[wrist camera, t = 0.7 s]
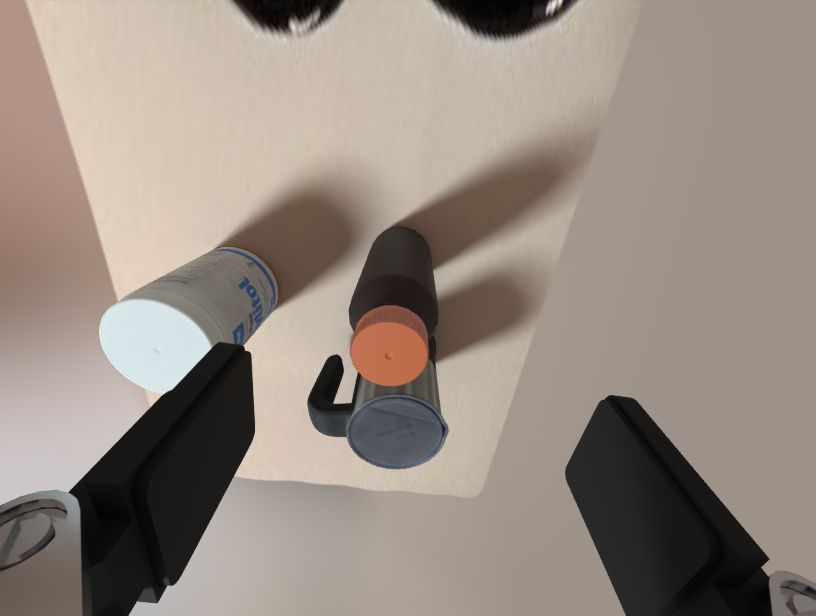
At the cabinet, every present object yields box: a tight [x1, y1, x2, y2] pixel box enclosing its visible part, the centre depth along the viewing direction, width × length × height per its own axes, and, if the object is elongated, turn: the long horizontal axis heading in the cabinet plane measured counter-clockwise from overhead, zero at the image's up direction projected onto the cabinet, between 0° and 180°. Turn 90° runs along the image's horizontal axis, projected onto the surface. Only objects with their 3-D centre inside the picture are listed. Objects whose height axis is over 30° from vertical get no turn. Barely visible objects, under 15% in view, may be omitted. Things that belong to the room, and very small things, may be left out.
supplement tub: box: [99, 247, 278, 394], centre depth 35 cm, size 10×10×15 cm
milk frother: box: [307, 336, 449, 469], centre depth 40 cm, size 14×16×15 cm
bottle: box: [349, 227, 438, 386], centre depth 31 cm, size 7×7×20 cm
